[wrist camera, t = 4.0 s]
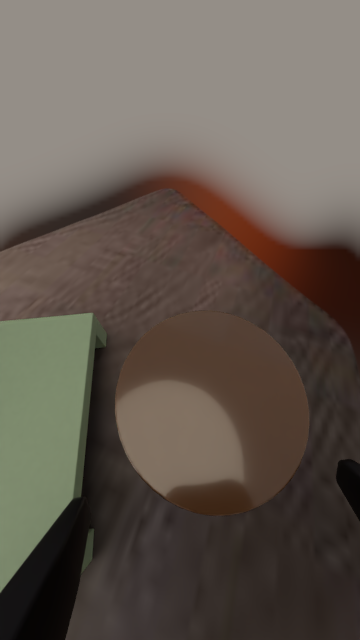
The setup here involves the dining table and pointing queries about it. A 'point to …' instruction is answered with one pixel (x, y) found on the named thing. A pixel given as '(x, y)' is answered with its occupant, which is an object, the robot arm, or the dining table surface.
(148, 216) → the dining table surface
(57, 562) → the robot arm
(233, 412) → the canister
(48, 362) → the shelf
